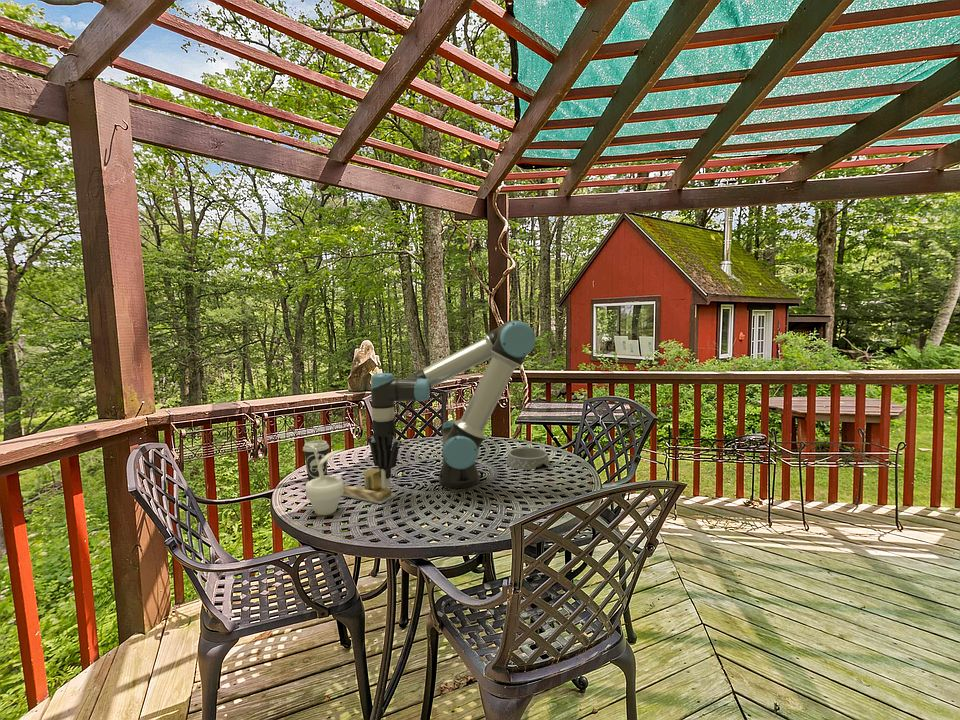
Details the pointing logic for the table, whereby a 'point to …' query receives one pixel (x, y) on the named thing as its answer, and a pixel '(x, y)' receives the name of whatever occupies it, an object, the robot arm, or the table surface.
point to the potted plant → (324, 487)
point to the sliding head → (372, 480)
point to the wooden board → (372, 500)
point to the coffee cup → (311, 458)
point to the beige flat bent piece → (366, 493)
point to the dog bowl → (527, 458)
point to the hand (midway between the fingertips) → (385, 487)
